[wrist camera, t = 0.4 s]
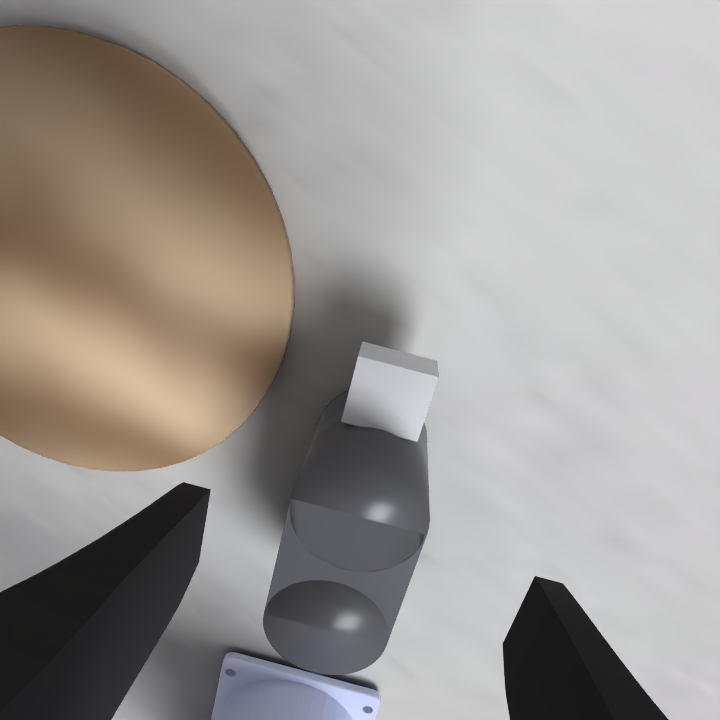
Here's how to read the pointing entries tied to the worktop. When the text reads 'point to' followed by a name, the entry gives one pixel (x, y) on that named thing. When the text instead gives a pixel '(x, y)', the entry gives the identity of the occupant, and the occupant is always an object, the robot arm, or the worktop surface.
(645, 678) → the worktop surface
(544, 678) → the robot arm
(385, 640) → the dark grey rounded block
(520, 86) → the worktop surface
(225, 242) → the round copper disc
